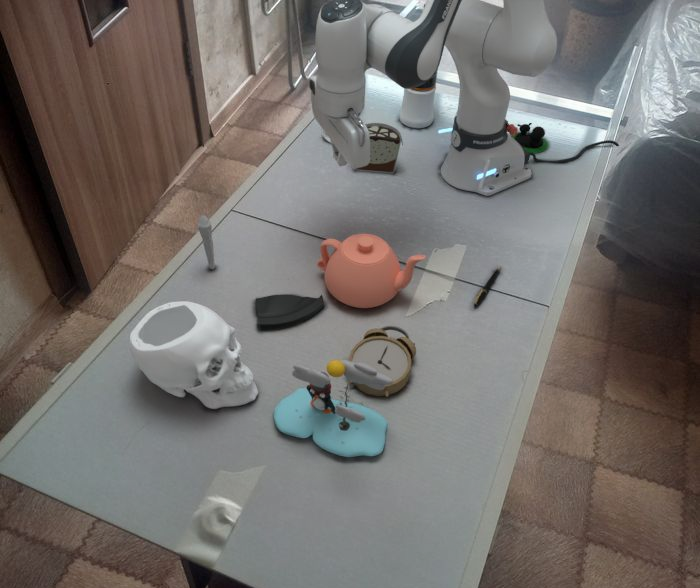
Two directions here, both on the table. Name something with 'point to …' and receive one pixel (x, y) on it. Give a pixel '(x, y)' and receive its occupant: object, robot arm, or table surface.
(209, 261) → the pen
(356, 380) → the penguin figurine
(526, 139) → the toy figurine
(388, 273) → the teapot
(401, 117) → the vodka
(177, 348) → the skull planter
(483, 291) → the fountain pen
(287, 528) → the table surface
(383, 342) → the alarm clock
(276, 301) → the dark sector wedge
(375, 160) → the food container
